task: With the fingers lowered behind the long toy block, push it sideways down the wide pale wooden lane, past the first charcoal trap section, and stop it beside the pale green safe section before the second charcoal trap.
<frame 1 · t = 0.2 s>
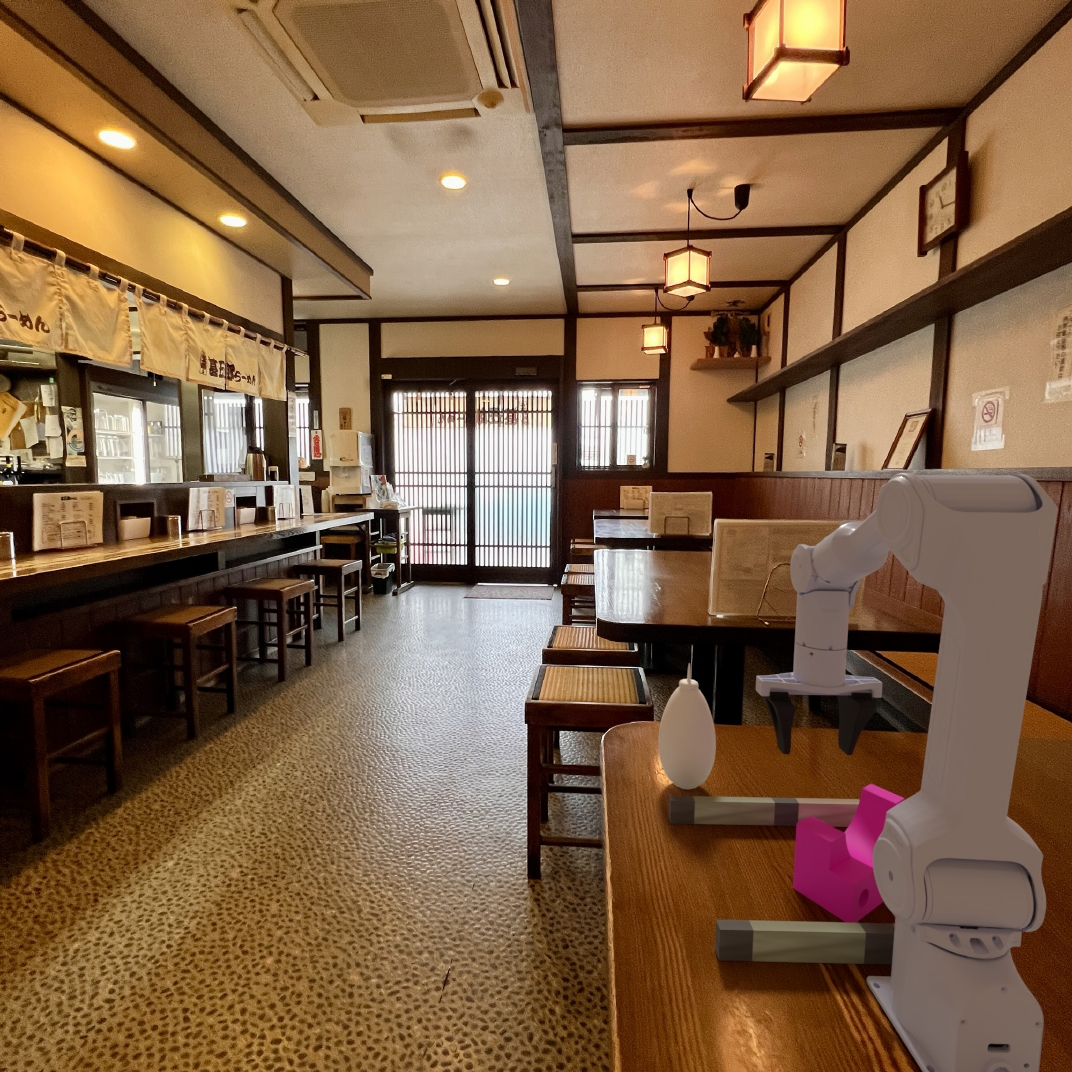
hand: (814, 751, 72), 10 cm above the table, tool pointing down, fingers open, 7 cm apart
sauce bottle: (685, 787, 83), on the table
toy block: (859, 882, 64), on the table
trap lane: (799, 879, 63), on the table
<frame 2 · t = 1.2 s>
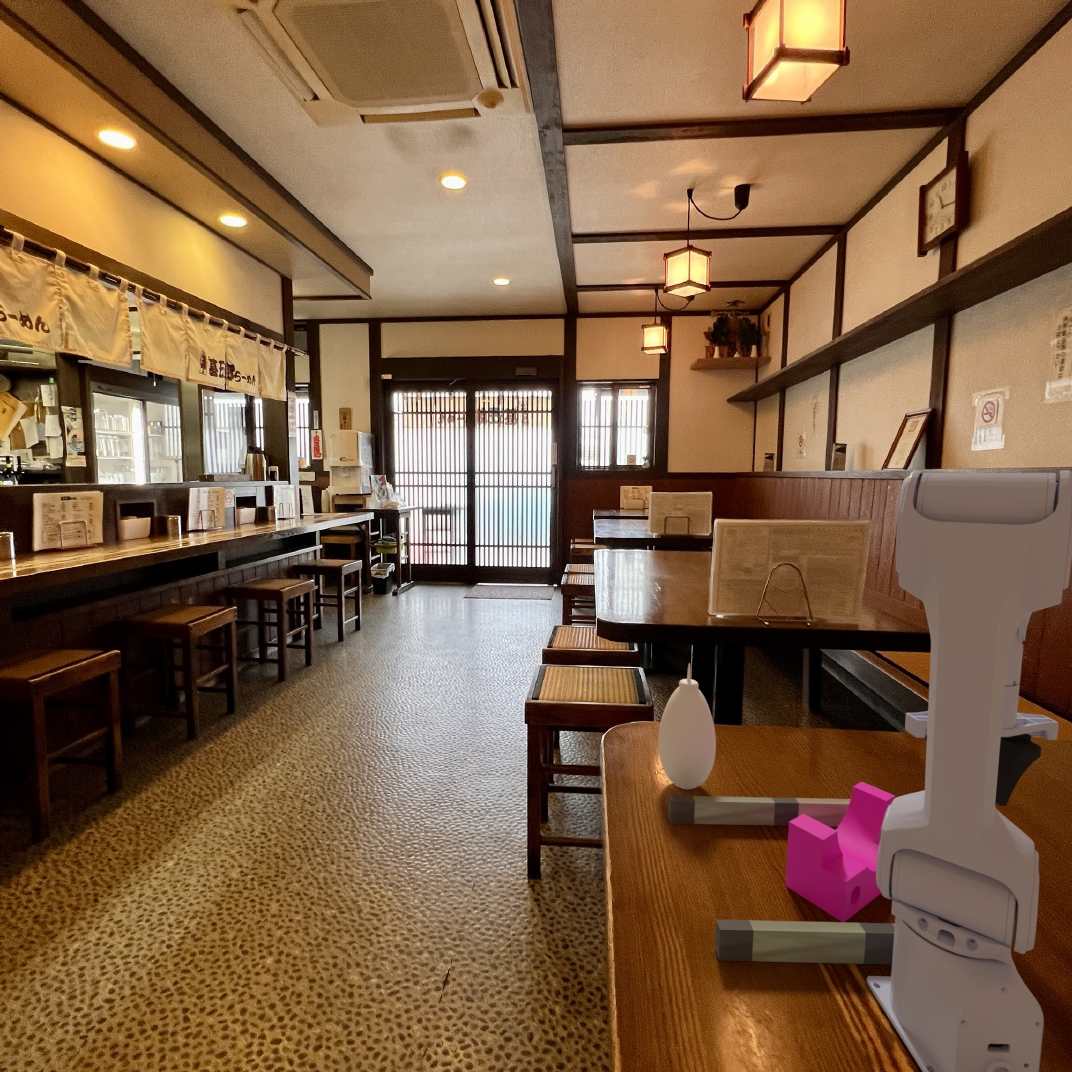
hand: (973, 800, 62), 9 cm above the table, tool pointing down, fingers open, 4 cm apart
nothing on the table moved.
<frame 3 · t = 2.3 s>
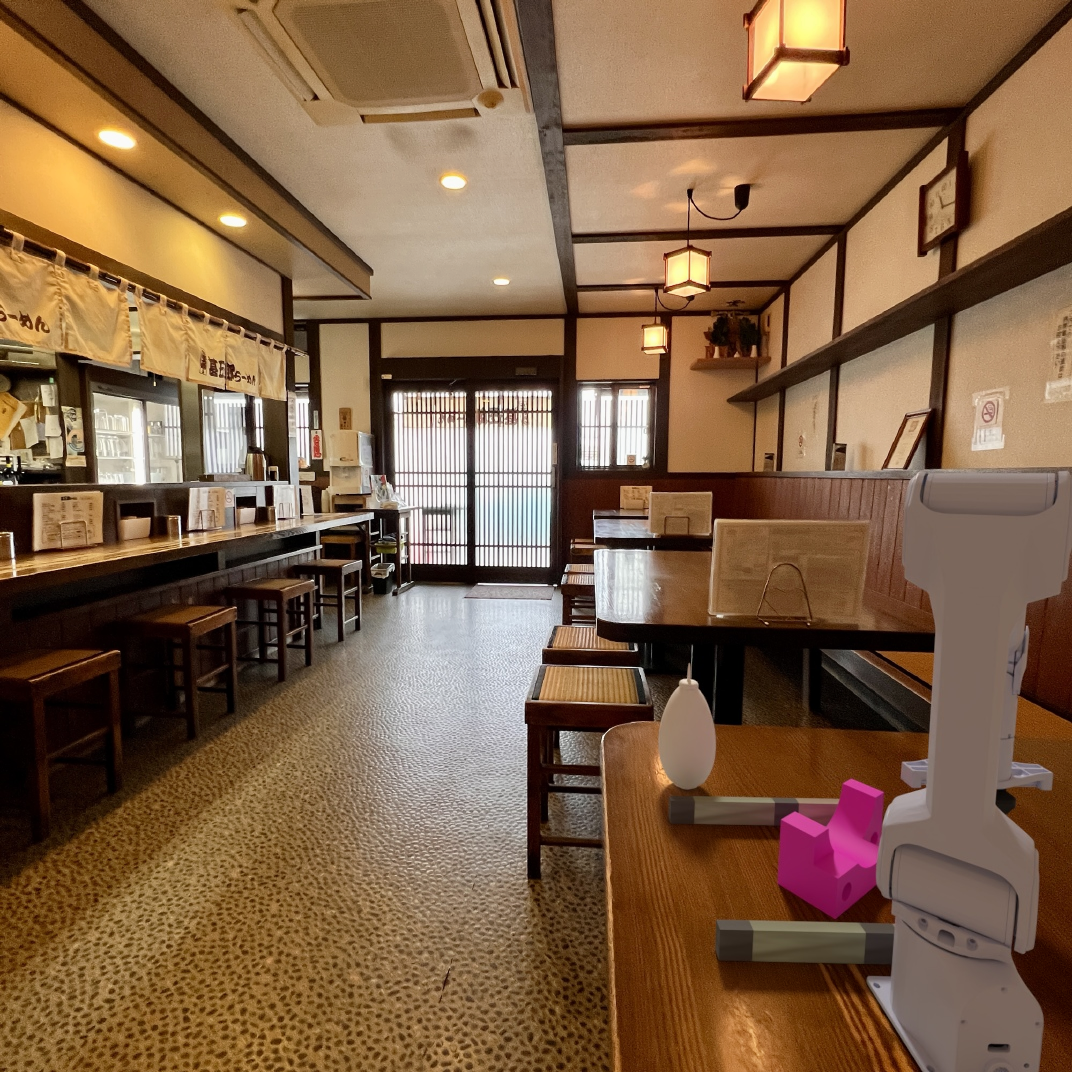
hand: (969, 848, 63), 4 cm above the table, tool pointing down, fingers closed
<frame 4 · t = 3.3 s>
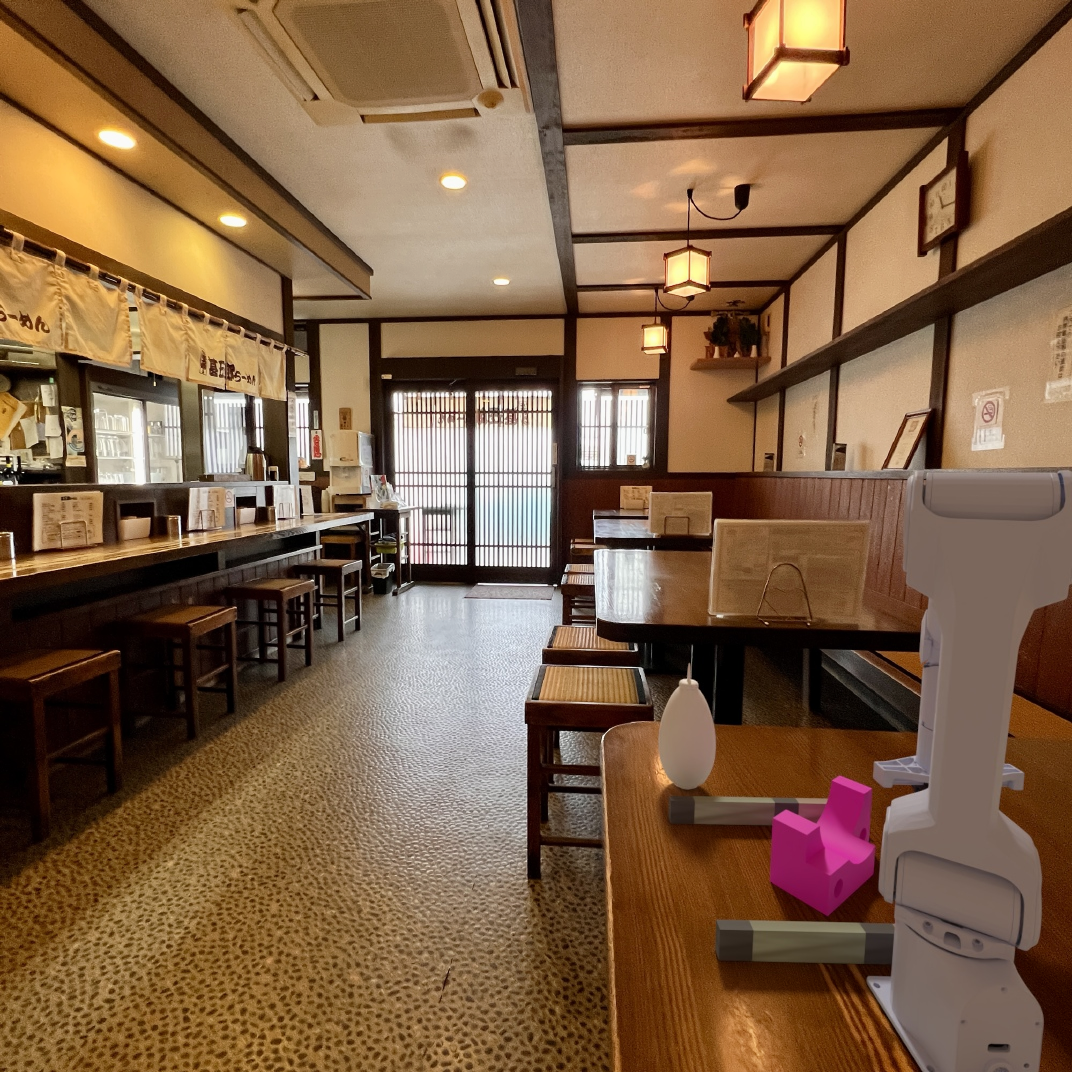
hand: (941, 848, 63), 4 cm above the table, tool pointing down, fingers closed
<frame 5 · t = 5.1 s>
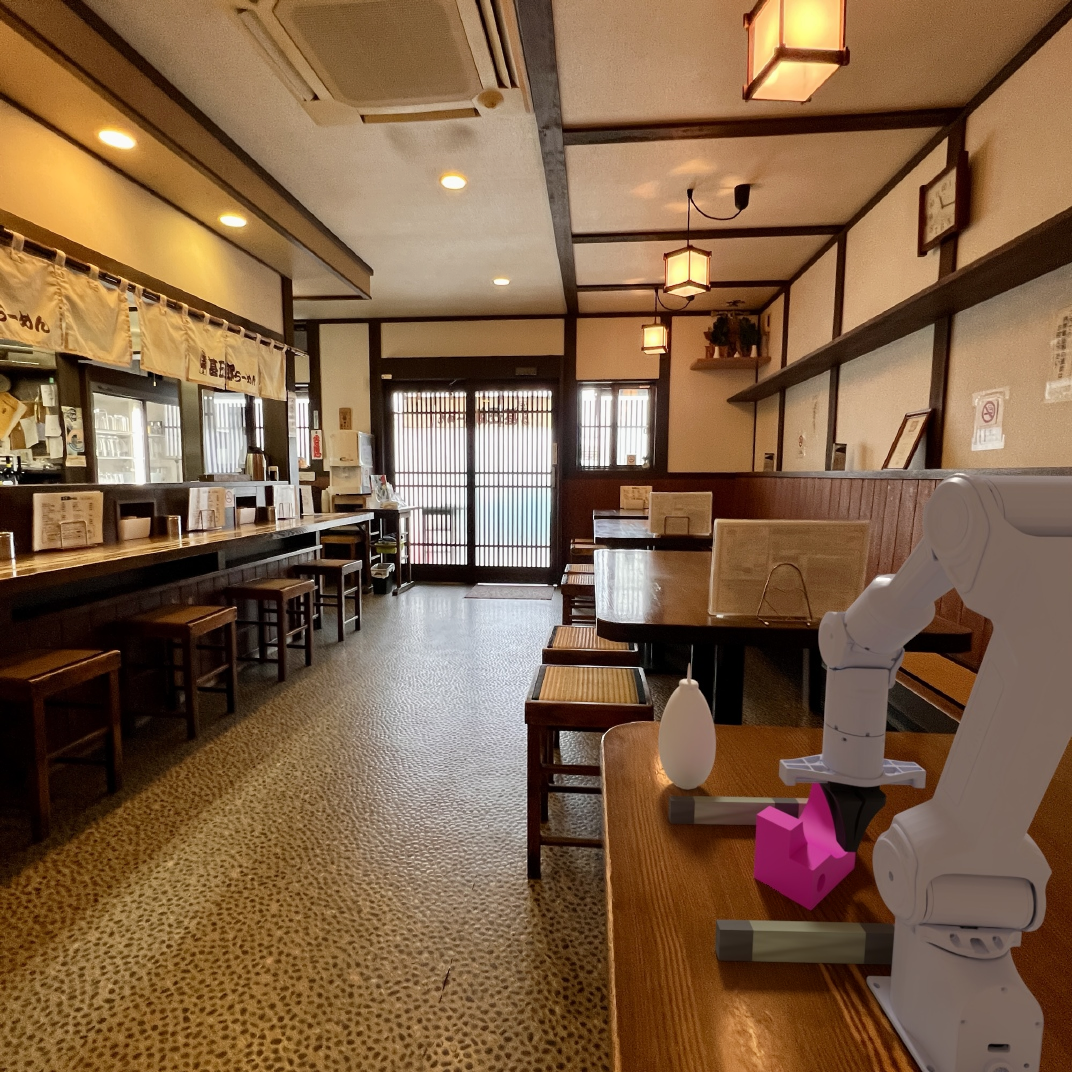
hand: (846, 846, 63), 4 cm above the table, tool pointing down, fingers closed
toy block: (814, 867, 66), on the table, touching gripper
everything else where it was.
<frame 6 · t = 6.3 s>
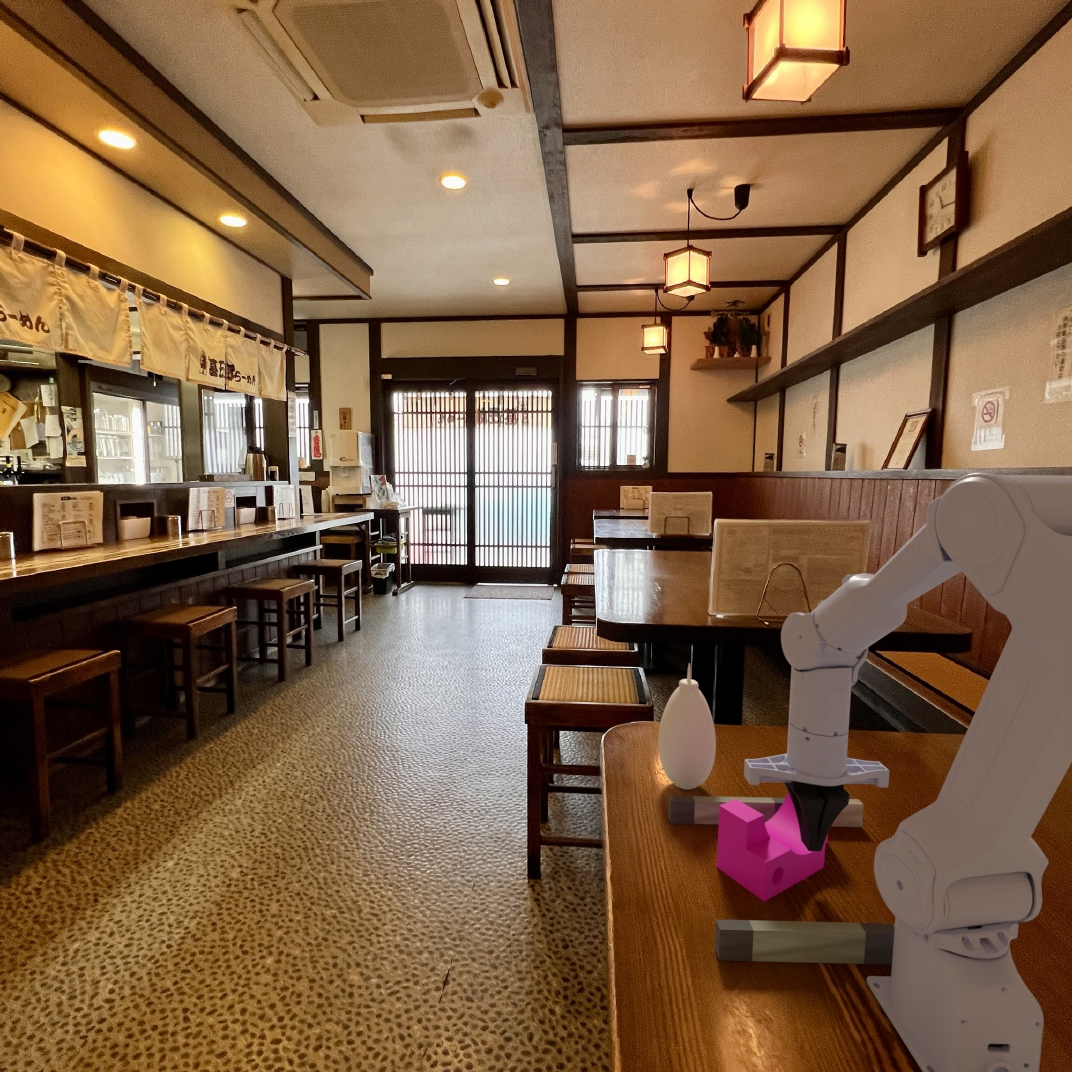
hand: (811, 845, 63), 4 cm above the table, tool pointing down, fingers closed
toy block: (783, 863, 67), on the table
everything else where it was.
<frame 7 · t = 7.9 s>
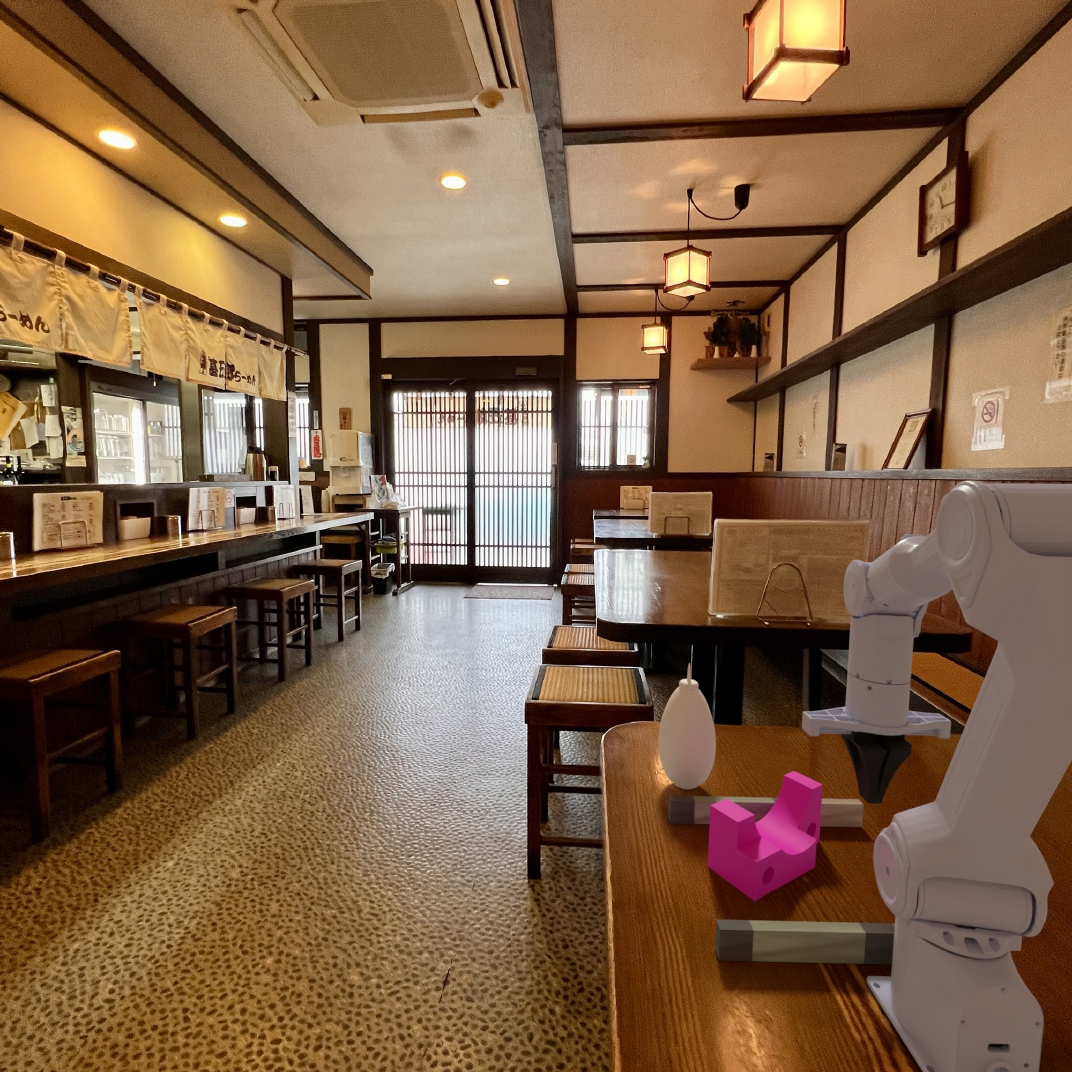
hand: (870, 798, 62), 9 cm above the table, tool pointing down, fingers closed
nothing on the table moved.
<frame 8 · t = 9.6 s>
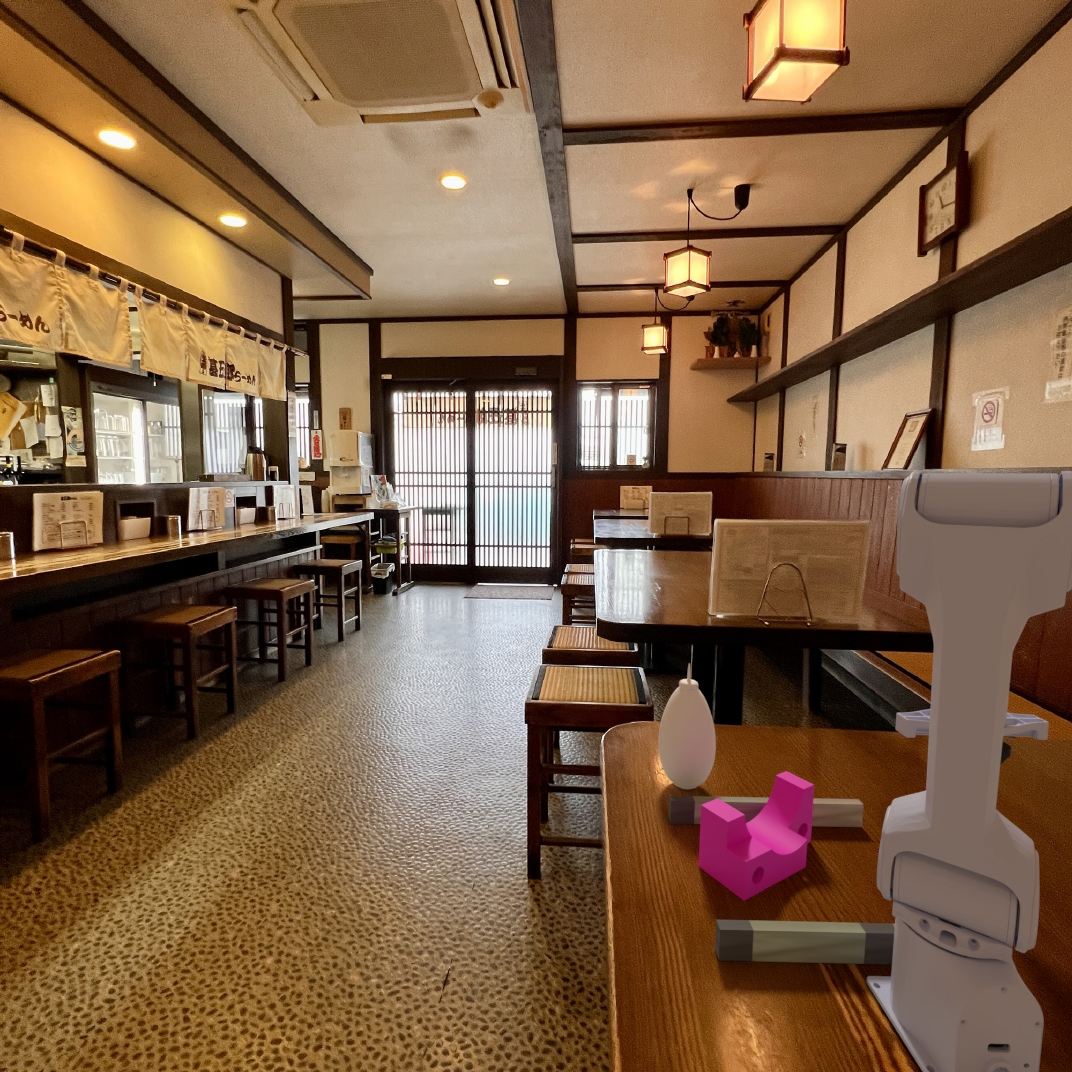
hand: (964, 800, 62), 9 cm above the table, tool pointing down, fingers closed
toy block: (765, 863, 67), on the table
everything else where it was.
at the end: toy block 3.5 cm from the target spot, on the table; toy block tilted 0° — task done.
